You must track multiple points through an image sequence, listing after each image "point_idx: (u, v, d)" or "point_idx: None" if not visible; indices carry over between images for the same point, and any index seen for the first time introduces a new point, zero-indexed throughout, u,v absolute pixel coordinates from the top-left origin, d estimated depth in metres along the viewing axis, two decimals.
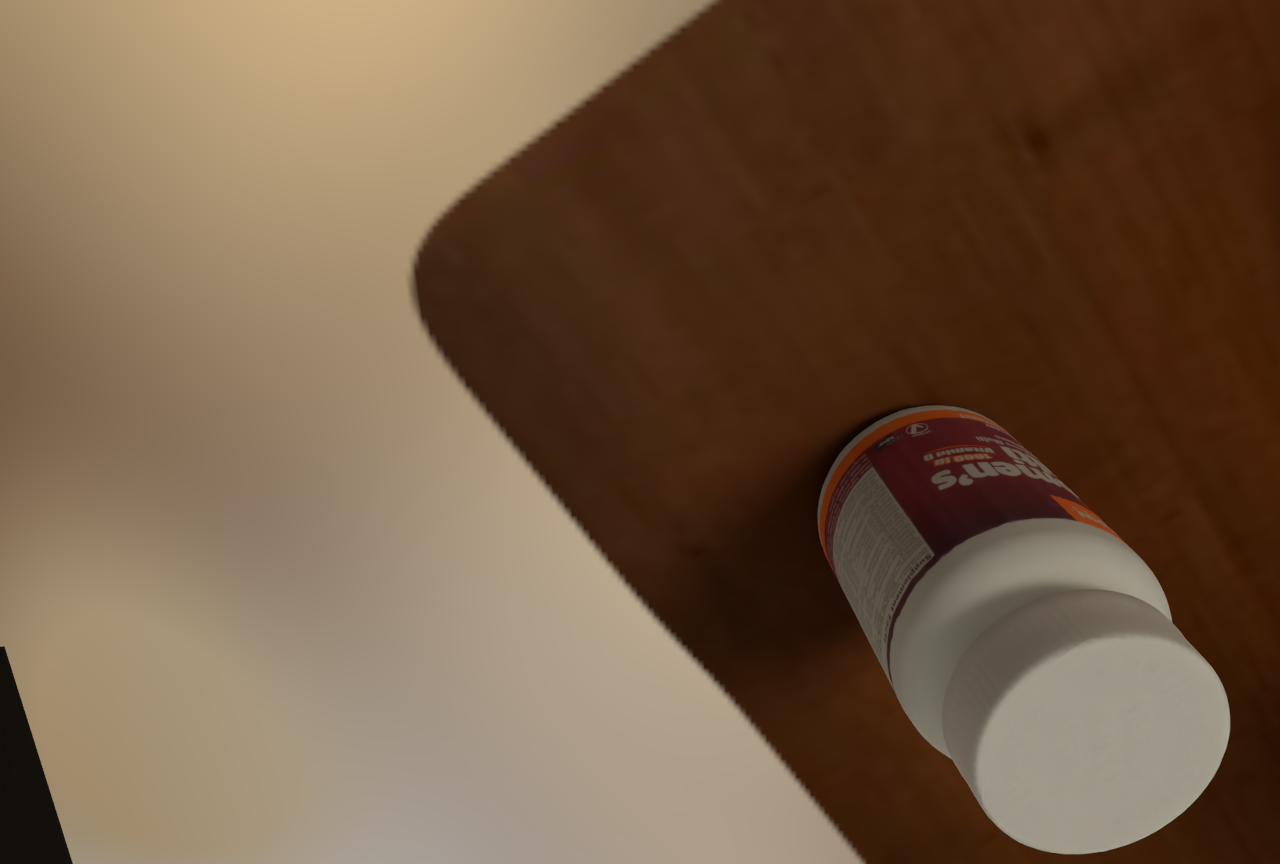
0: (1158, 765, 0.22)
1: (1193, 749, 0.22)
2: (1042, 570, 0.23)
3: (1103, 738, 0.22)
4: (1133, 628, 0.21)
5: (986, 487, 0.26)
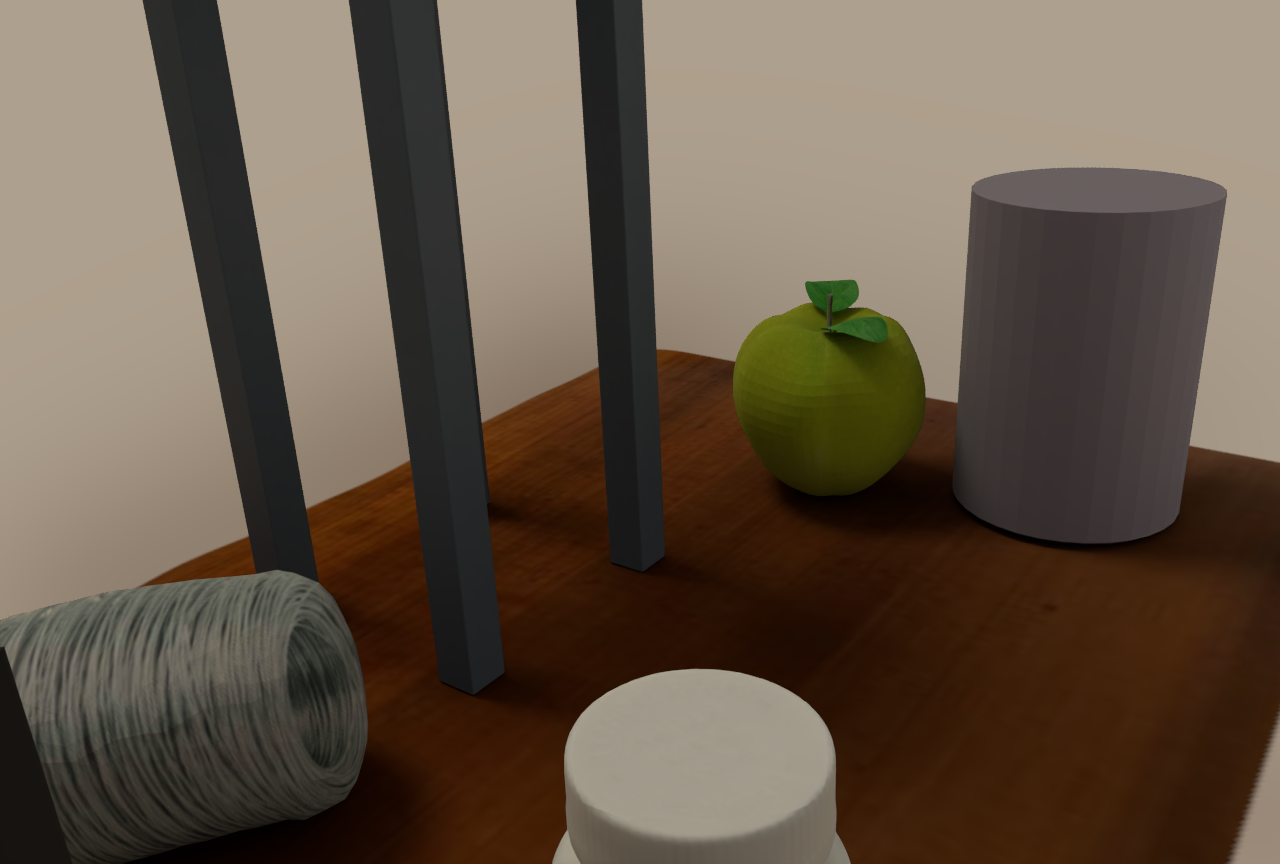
0: (696, 704, 0.23)
1: (669, 690, 0.23)
2: None
3: (686, 749, 0.21)
4: (566, 778, 0.21)
5: None
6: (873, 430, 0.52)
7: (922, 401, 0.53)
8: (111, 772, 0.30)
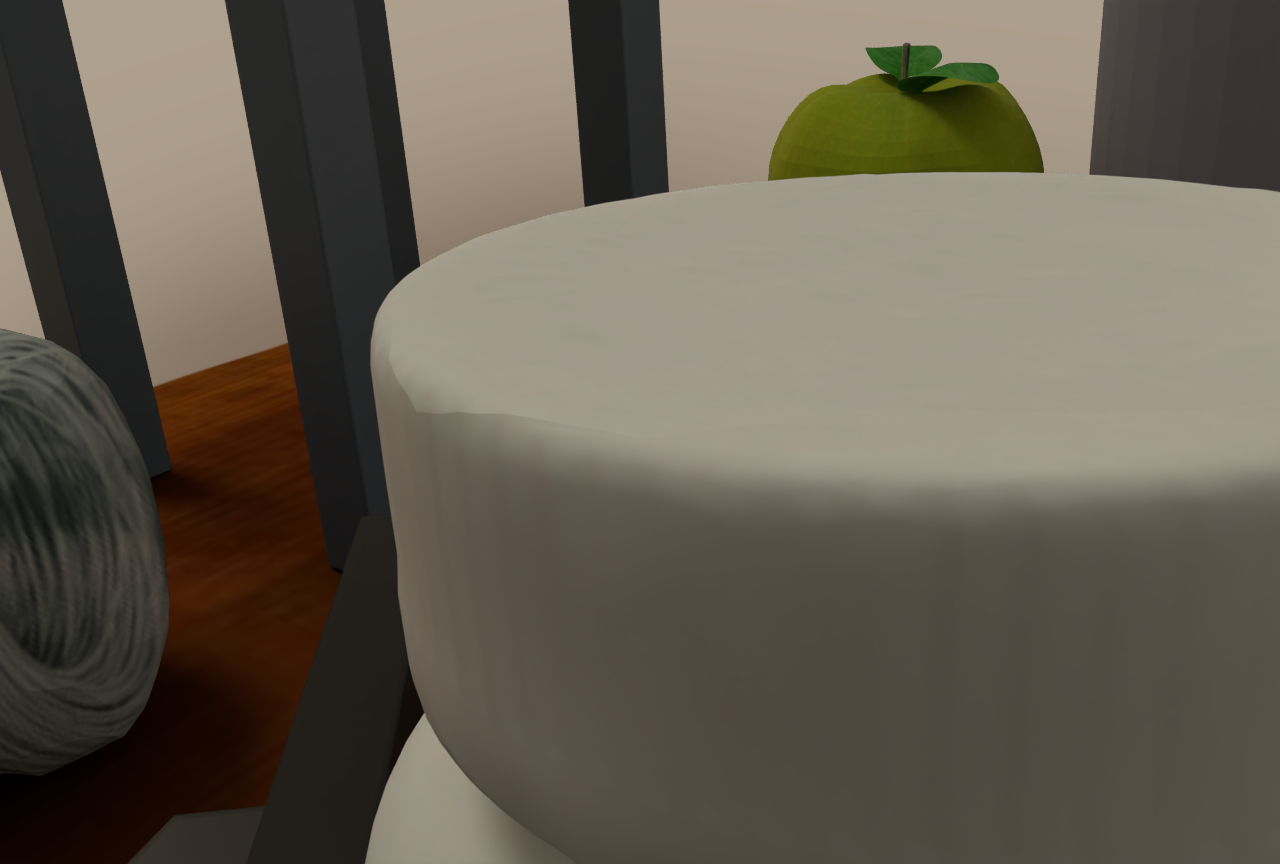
0: (867, 213, 0.06)
1: (767, 199, 0.07)
2: None
3: (873, 272, 0.05)
4: (374, 381, 0.05)
5: None
6: None
7: None
8: None
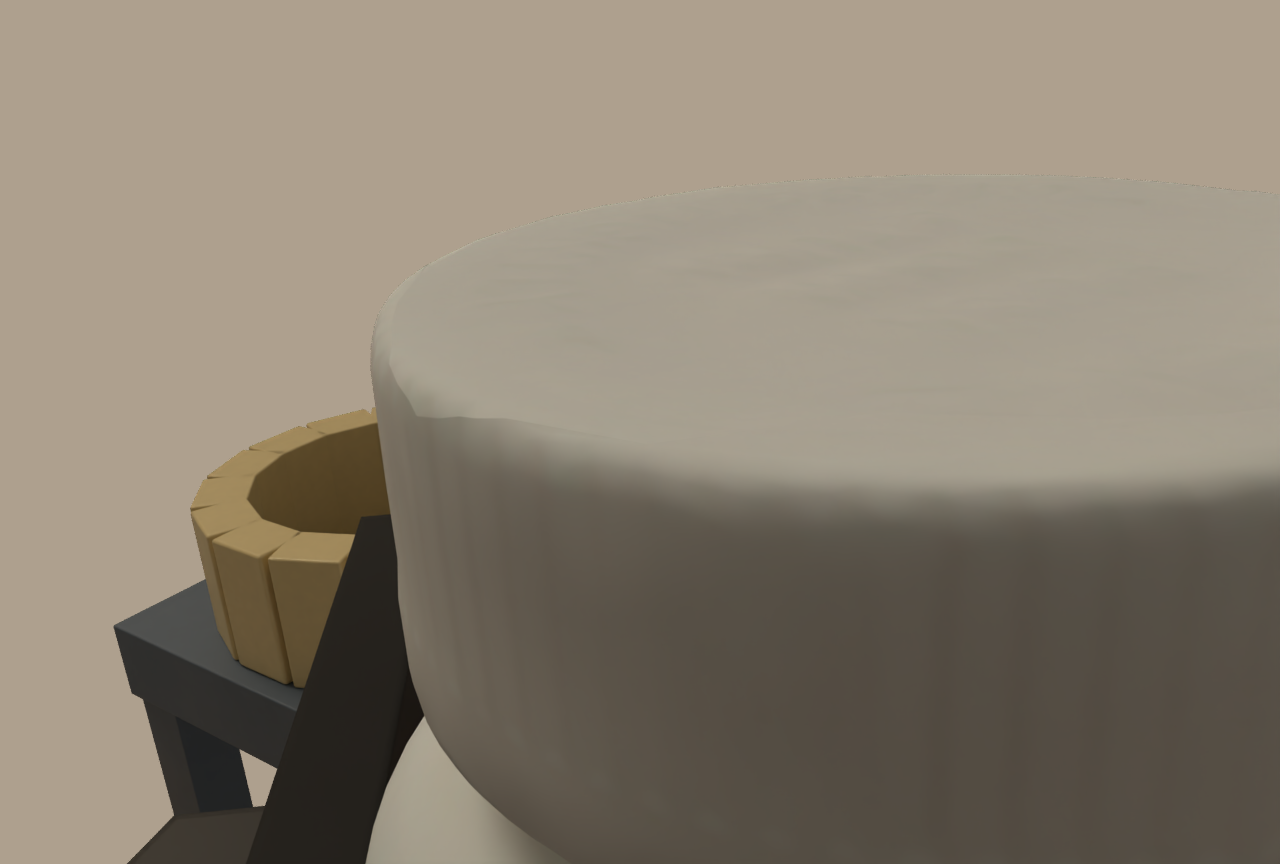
0: (869, 216, 0.06)
1: (767, 202, 0.07)
2: None
3: (873, 276, 0.05)
4: (374, 385, 0.05)
5: None
6: None
7: None
8: None
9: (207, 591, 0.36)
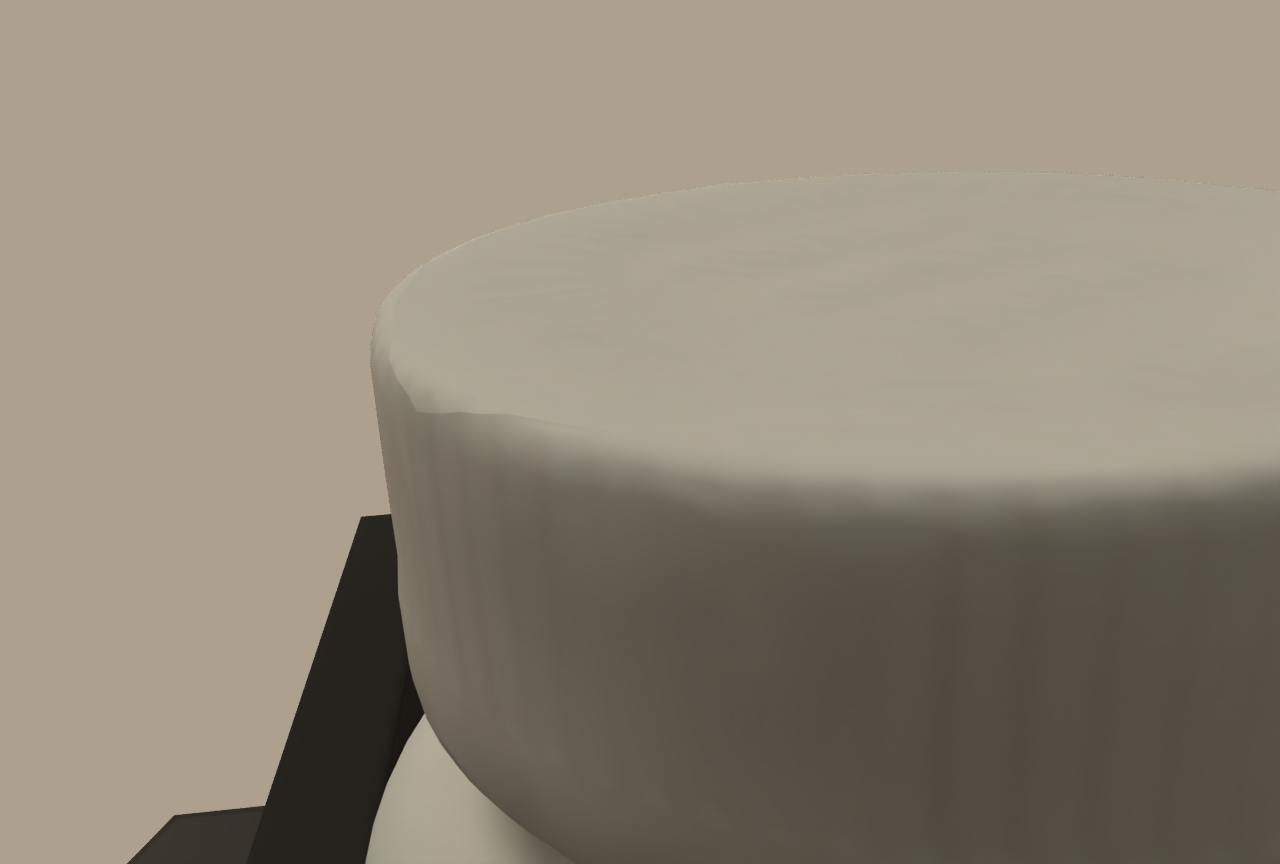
0: (871, 214, 0.06)
1: (768, 199, 0.07)
2: None
3: (876, 272, 0.05)
4: (373, 381, 0.05)
5: None
6: None
7: None
8: None
9: None
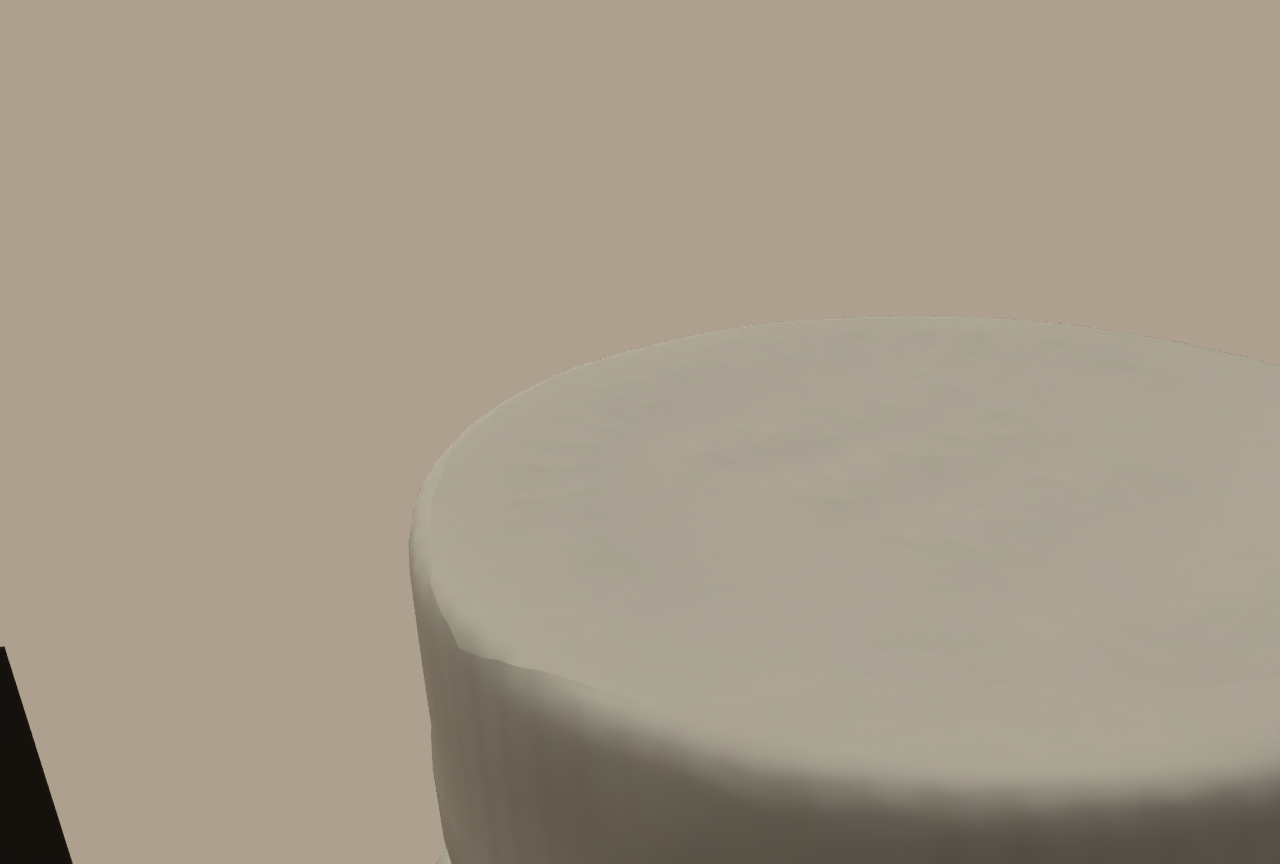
0: (874, 377, 0.07)
1: (776, 353, 0.07)
2: None
3: (879, 468, 0.06)
4: (411, 583, 0.05)
5: None
6: None
7: None
8: None
9: None
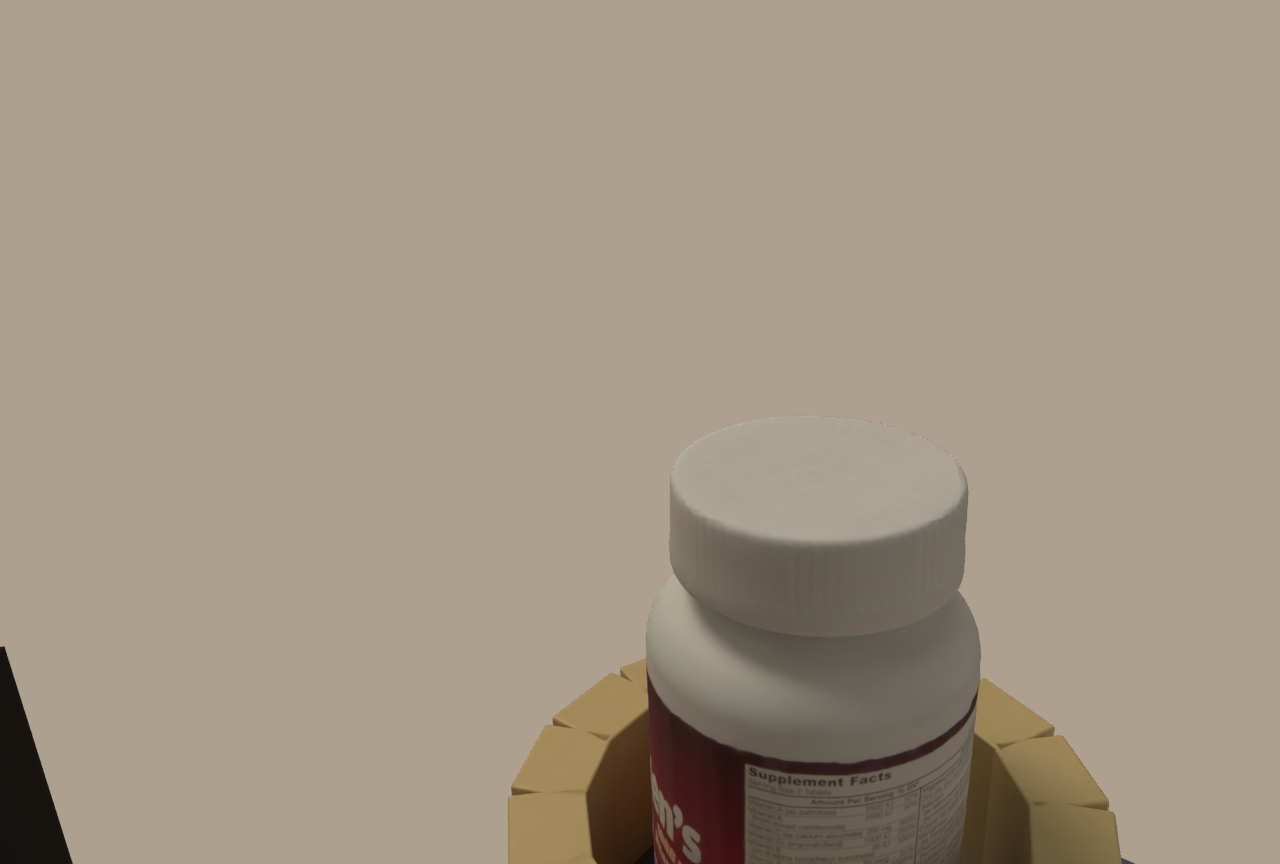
0: (810, 442, 0.21)
1: (780, 430, 0.21)
2: (689, 636, 0.20)
3: (803, 475, 0.20)
4: (672, 499, 0.19)
5: (668, 783, 0.21)
6: None
7: None
8: None
9: None
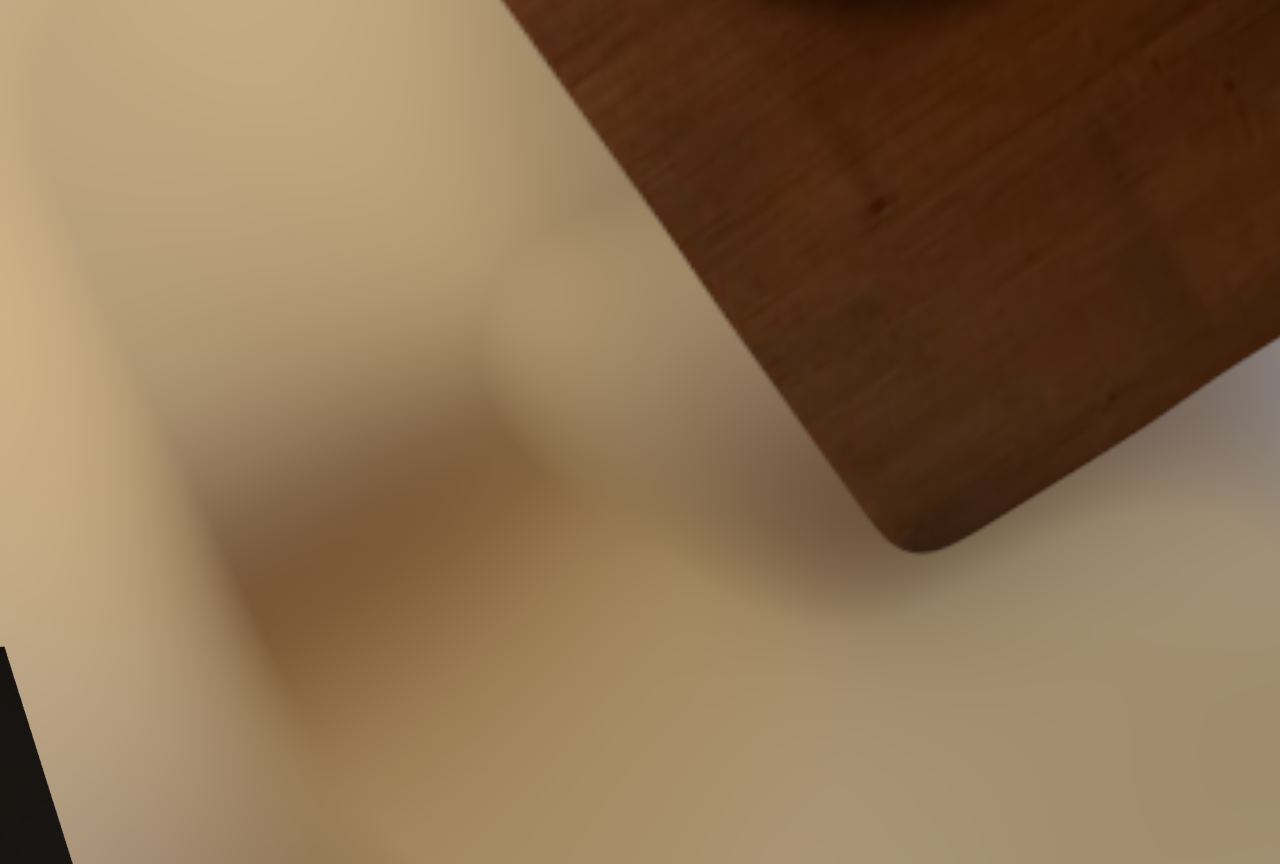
0: None
1: None
2: None
3: None
4: None
5: None
6: None
7: None
8: None
9: None
